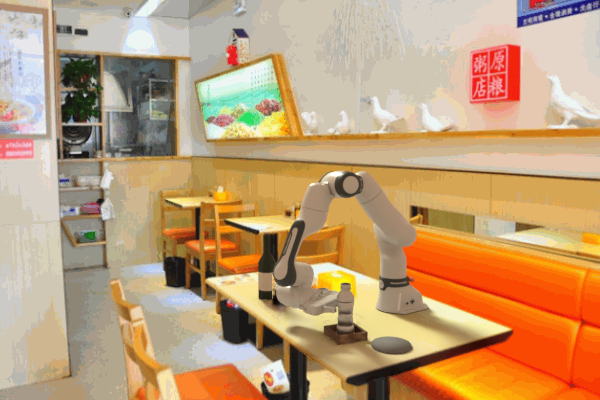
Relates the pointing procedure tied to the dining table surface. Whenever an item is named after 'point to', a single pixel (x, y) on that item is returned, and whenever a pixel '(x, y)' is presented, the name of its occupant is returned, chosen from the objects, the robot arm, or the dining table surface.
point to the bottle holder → (347, 338)
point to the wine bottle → (265, 270)
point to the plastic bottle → (345, 310)
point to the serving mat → (391, 345)
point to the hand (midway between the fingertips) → (342, 307)
